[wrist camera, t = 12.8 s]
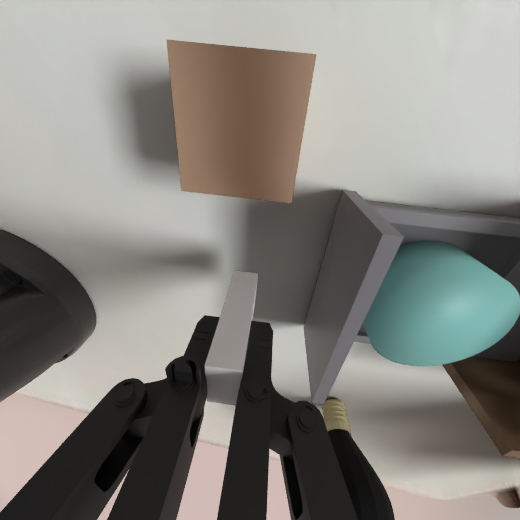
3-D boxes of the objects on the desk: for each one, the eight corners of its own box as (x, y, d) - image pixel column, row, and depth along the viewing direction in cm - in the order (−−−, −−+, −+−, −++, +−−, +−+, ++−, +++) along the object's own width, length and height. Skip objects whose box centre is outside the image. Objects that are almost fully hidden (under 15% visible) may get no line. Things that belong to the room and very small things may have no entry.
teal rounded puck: (440, 331, 18) (471, 371, 15) (342, 322, 19) (353, 359, 16) (500, 245, 14) (558, 278, 11) (372, 235, 14) (395, 264, 11)
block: (211, 170, 14) (181, 190, 10) (208, 69, 12) (166, 39, 7) (288, 179, 14) (291, 203, 10) (303, 79, 12) (316, 54, 7)
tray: (303, 327, 21) (311, 402, 15) (342, 189, 14) (382, 234, 8) (499, 352, 20) (581, 438, 15) (636, 222, 13) (882, 292, 8)
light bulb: (306, 384, 26) (321, 552, 16) (366, 387, 25) (422, 564, 15) (303, 413, 30) (315, 565, 19) (356, 416, 29) (397, 575, 19)
